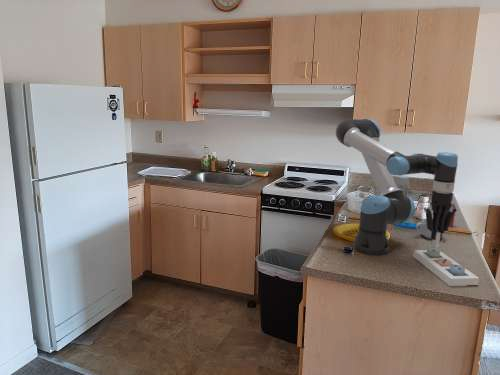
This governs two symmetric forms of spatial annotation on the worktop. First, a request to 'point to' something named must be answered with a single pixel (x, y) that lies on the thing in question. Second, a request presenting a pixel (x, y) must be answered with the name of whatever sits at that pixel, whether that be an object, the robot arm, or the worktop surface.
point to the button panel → (445, 270)
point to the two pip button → (457, 270)
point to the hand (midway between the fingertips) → (435, 246)
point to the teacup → (424, 229)
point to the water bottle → (402, 183)
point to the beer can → (453, 215)
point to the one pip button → (433, 253)
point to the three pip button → (444, 262)
